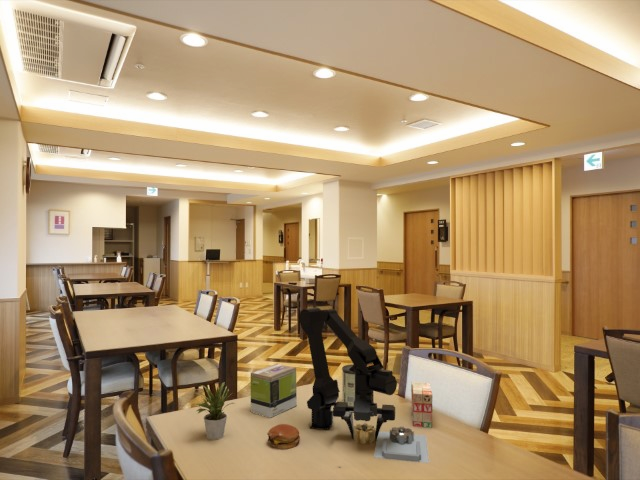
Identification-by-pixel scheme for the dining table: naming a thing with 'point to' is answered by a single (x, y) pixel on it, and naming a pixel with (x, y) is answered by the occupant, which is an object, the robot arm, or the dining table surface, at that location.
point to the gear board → (402, 449)
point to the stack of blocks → (421, 404)
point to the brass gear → (364, 433)
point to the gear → (401, 435)
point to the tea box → (273, 390)
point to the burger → (283, 436)
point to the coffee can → (348, 385)
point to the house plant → (214, 413)
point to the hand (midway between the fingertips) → (364, 438)
